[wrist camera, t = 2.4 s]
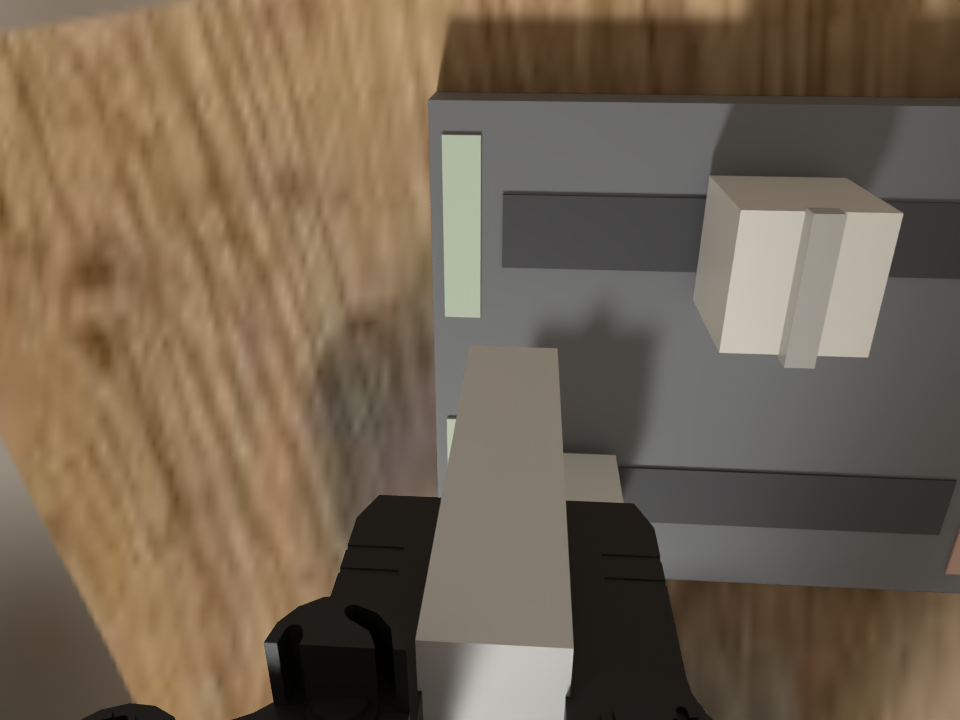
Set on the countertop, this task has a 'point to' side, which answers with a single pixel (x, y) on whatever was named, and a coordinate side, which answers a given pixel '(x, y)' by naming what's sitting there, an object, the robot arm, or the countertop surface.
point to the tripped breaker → (793, 266)
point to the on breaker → (592, 478)
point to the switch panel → (684, 336)
